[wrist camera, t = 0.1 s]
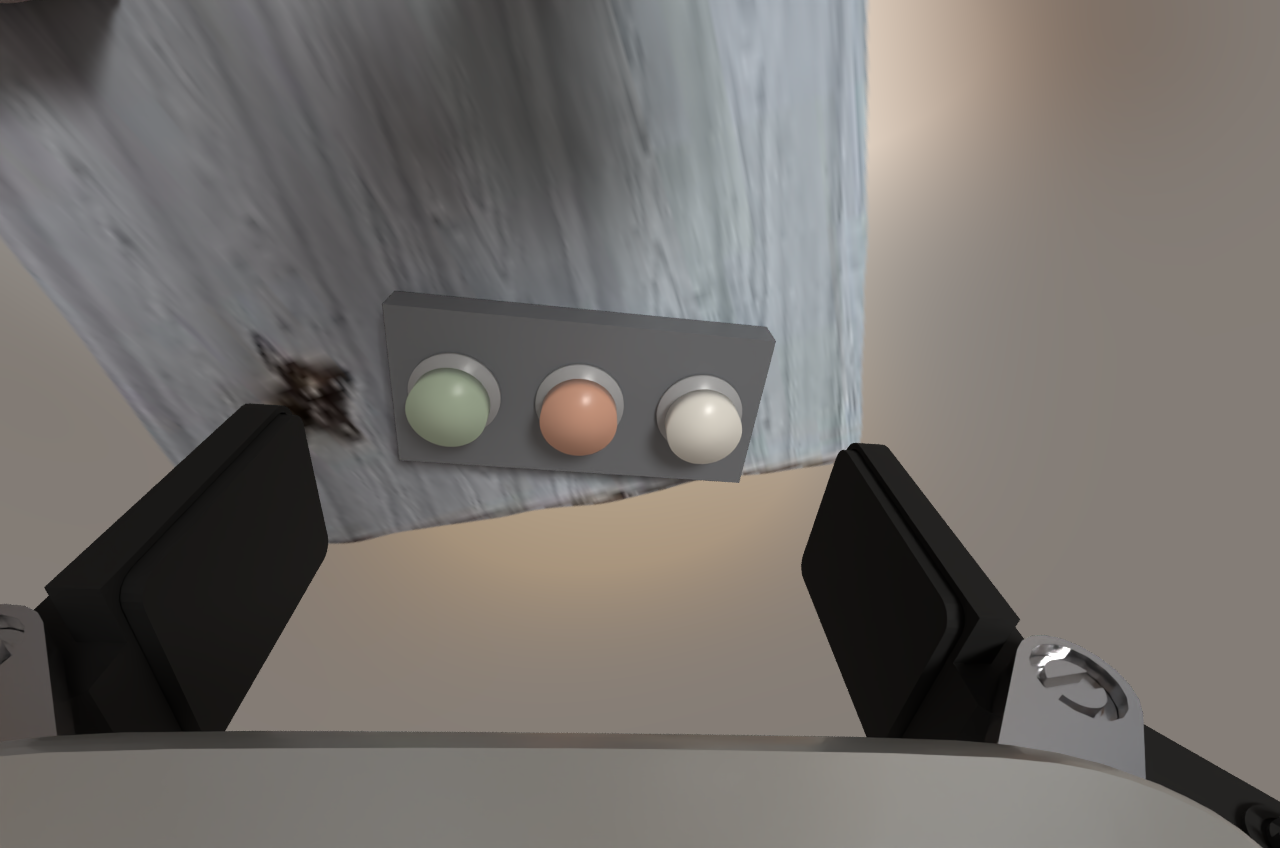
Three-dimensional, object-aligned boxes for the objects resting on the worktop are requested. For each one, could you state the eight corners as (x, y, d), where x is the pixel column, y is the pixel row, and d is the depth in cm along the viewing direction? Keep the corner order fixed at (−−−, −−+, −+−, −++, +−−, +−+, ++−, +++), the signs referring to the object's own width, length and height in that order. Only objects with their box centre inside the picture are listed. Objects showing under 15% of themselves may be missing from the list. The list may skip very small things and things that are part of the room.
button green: (408, 364, 44) (401, 374, 42) (490, 371, 44) (486, 381, 43) (414, 431, 47) (408, 444, 45) (490, 437, 47) (487, 449, 46)
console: (394, 290, 45) (379, 306, 42) (766, 327, 48) (777, 343, 45) (409, 441, 52) (397, 463, 49) (732, 463, 56) (740, 486, 53)
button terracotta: (543, 375, 45) (540, 386, 43) (620, 382, 45) (621, 392, 44) (540, 440, 48) (538, 453, 46) (612, 446, 48) (613, 458, 47)
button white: (670, 386, 46) (673, 397, 44) (744, 392, 46) (749, 403, 45) (660, 449, 49) (662, 461, 47) (729, 454, 49) (733, 466, 48)
